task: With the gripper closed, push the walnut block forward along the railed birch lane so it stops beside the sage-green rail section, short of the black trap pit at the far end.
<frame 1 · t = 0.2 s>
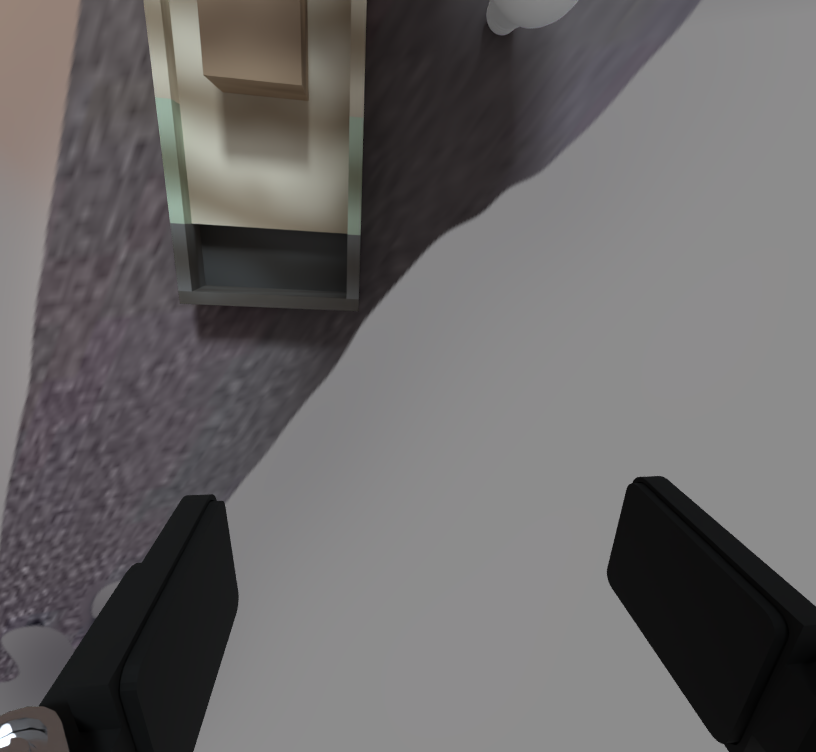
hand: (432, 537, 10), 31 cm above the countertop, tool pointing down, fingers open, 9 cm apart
trap lane: (273, 161, 34), on the countertop
walnut block: (264, 46, 30), point 2 cm above the countertop, touching trap lane
lightbulb: (498, 20, 32), on the countertop
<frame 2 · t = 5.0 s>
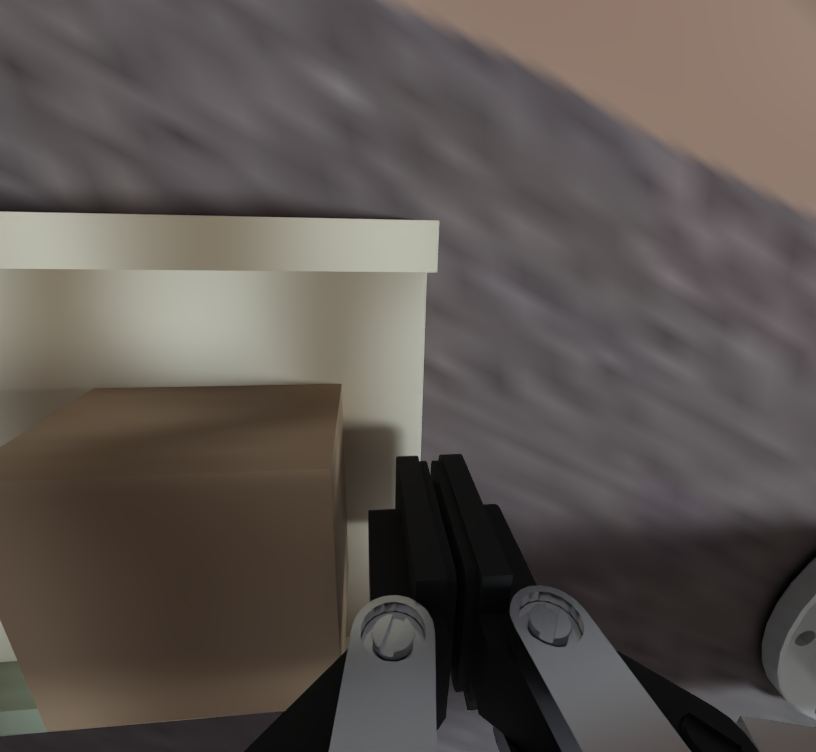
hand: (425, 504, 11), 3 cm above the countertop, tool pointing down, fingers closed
trap lane: (20, 456, 13), on the countertop
walnut block: (235, 487, 12), point 2 cm above the countertop, touching gripper, trap lane
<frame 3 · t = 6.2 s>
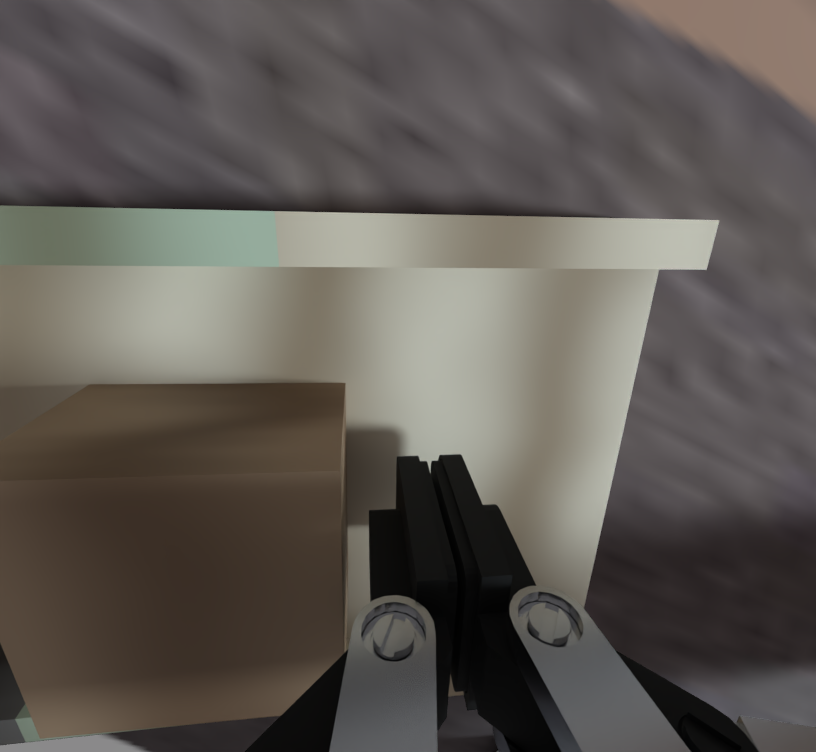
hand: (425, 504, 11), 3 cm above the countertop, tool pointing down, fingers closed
trap lane: (216, 451, 13), on the countertop
walnut block: (234, 486, 11), point 2 cm above the countertop, touching gripper, trap lane
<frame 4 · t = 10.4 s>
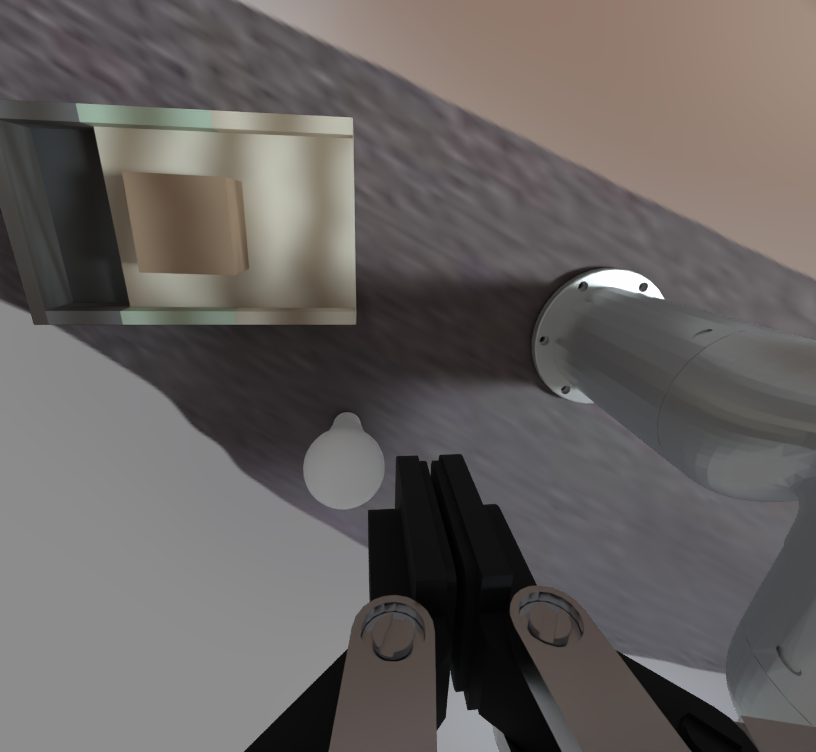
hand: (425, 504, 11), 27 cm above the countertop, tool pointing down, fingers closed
trap lane: (197, 224, 33), on the countertop
walnut block: (202, 224, 31), point 2 cm above the countertop, touching trap lane
lightbulb: (347, 419, 40), on the countertop
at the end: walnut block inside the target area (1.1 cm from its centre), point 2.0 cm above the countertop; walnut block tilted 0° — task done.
